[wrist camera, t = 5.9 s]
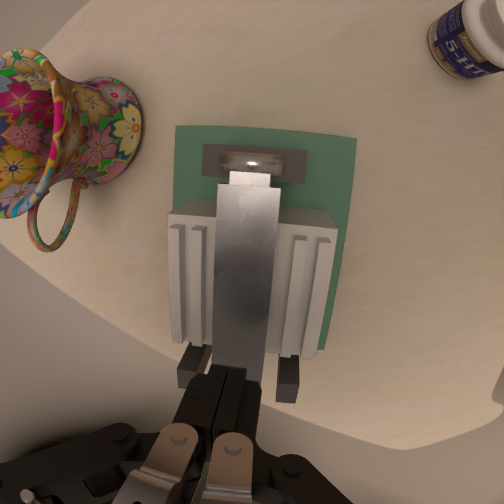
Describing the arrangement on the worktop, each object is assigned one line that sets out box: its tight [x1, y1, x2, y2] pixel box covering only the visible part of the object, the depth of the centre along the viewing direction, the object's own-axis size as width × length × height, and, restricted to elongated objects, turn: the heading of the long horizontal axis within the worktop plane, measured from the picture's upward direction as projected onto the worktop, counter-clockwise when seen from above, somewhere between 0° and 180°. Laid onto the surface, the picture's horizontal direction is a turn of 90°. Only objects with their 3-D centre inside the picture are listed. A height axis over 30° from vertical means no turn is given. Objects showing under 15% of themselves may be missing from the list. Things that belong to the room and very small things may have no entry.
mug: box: [0, 48, 142, 252], centre depth 17 cm, size 12×9×11 cm
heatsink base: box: [168, 126, 357, 403], centre depth 19 cm, size 12×16×8 cm
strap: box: [212, 151, 284, 387], centre depth 16 cm, size 3×12×1 cm, turn 176°
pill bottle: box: [428, 0, 504, 79], centre depth 12 cm, size 5×5×9 cm
